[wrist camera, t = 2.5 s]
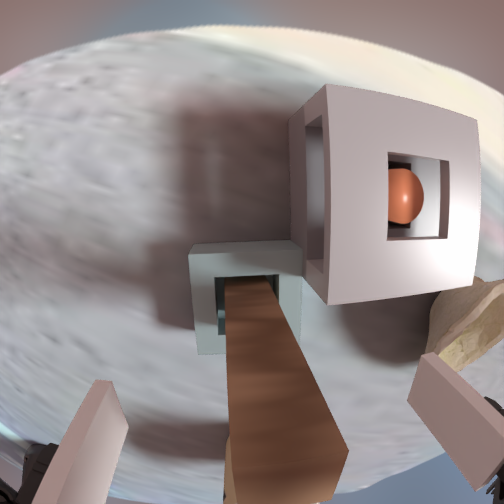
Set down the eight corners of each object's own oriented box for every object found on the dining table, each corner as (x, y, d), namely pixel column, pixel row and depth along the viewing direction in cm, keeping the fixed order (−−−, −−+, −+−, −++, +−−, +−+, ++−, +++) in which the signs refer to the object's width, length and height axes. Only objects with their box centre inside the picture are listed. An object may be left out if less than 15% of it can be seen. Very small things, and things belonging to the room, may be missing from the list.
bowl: (387, 378, 29) (430, 431, 19) (396, 264, 26) (465, 298, 16) (472, 343, 30) (517, 376, 20) (487, 244, 27) (547, 264, 17)
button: (349, 215, 22) (380, 223, 17) (349, 169, 21) (380, 166, 16) (387, 215, 22) (423, 223, 17) (387, 172, 21) (423, 171, 17)
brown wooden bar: (226, 310, 24) (238, 512, 7) (224, 274, 24) (231, 467, 6) (264, 308, 24) (331, 499, 7) (263, 272, 24) (348, 450, 6)
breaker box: (290, 262, 25) (327, 305, 16) (287, 120, 22) (326, 83, 13) (406, 256, 26) (472, 285, 17) (407, 133, 23) (476, 119, 14)
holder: (201, 331, 26) (197, 354, 22) (193, 243, 24) (188, 254, 20) (289, 326, 26) (299, 348, 22) (290, 239, 24) (302, 249, 21)
